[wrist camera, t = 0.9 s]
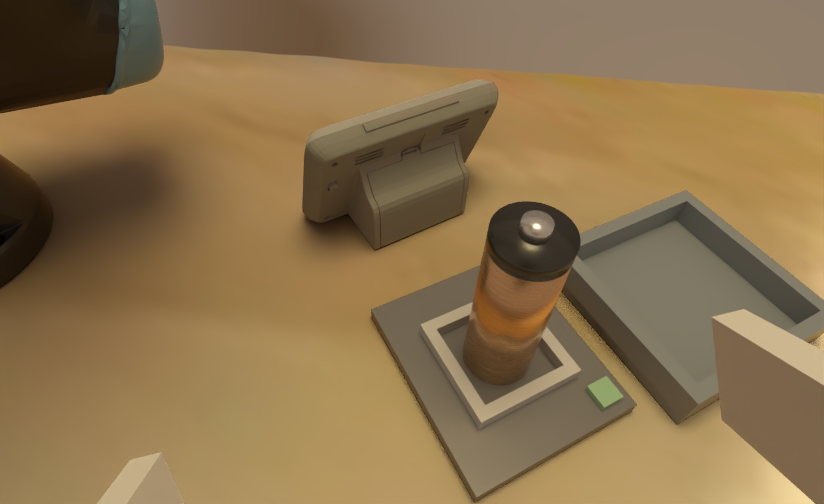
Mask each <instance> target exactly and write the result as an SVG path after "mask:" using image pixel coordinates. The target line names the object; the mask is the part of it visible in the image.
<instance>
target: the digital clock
mask: <svg viewBox="0 0 824 504" xmlns="http://www.w3.org/2000/svg"><path fill="white" fill-rule="evenodd" d="M497 101H498V89H497V87H496V85H495V83H493V82H489V81H485V80H480V79H477V80H473V81H469V82H466V83H462V84H459V85H456V86H453V87H449V88H446V89H443V90H440V91H437V92H433V93H430V94H427V95H424V96H421V97H418V98H414V99H411V100H408V101H405V102H402V103H398V104H395V105H392V106H389V107H386V108H383V109H379V110H376V111H373V112H370V113H367V114H364V115H360V116H357V117H354V118H351V119H348V120H345V121H341V122H338V123H335V124H332V125H329V126H326V127H323V128H321V129H318V130H316V131H314V132H312V133H311V134H310V136H309V138H308V141H307V144H306V148H305V154H304V176H303V204H302V209H303V212H304V214H305V216H306V217H307V218H308V219H310V220H312V221H314V222H318V223H324V222H327V221H330V220H333V219H335V218H338V217H340V216H343V215H346V214H349V216H350V217H351V218H352V220H353V221H354V223H355V224H356V225H357V227H358V228H359V229H360V231H361V232H362V234H363V235H364V236H365V238H366V239H367V240H368V242H369V243H370V245H371V246H372V247H373V248H374V249H375V250H376V249H379V248H381V247H383V246H386V245H388V244H390V243H393V242H395V241H397V240H400V239H402V238H404V237H407V236H409V235H412V234H414V233H416V232H419V231H421V230H423V229H426V228H428V227H430V226H433V225H435V224H437V223H440V222H442V221H444V220H447V219H449V218H452V217H454V216H456V215H459V214H461V213H463V212H464V209H465V203H466V196H467V190H468V183H469V174H468V170H467V168H466V166H465V164H464V163H465V162H466V160H467V158H468V156H469V155H470V153H471V151H472V149H473V147H474V146H475V144H476V142H477V140H478V139H479V137H480V135H481V133H482V131H483V130H484V128H485V126H486V124H487V122H488V121H489V119H490V117H491V115H492V113H493V112H494V110H495V108H496V105H497Z"/></svg>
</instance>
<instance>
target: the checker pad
mask: <svg viewBox="0 0 824 504" xmlns="http://www.w3.org/2000/svg"><path fill="white" fill-rule="evenodd" d="M480 266H481V265H480ZM480 266H477V267H475V268H472V269H470V270H468V271H465V272H463V273H460V274H458V275H455V276H453V277H450V278H448V279H445V280H443V281H440V282H438V283H436V284H433V285H431V286H428V287H426V288H423V289H421V290H418V291H416V292H413V293H411V294H408V295H406V296H403V297H401V298H399V299H396V300H394V301H391V302H389V303H386V304H384V305H381V306H379V307H376V308H374V309H371V315H372V319H373V321H374V323H375V324H376V326H377V328H378V330H379V332H380V333H381V335H382V337H383V339H384V341H385V342H386V344H387V346H388V348H389V350H390V351H391V353H392V355H393V357H394V359H395V360H396V362H397V364H398V366H399V368H400V369H401V371H402V373H403V375H404V377H405V378H406V380H407V382H408V384H409V386H410V387H411V389H412V391H413V393H414V395H415V396H416V398H417V400H418V402H419V404H420V405H421V407H422V409H423V411H424V413H425V414H426V416H427V418H428V420H429V422H430V423H431V425H432V427H433V429H434V431H435V432H436V434H437V436H438V438H439V440H440V441H441V443H442V445H443V447H444V449H445V450H446V452H447V454H448V456H449V458H450V459H451V461H452V463H453V465H454V467H455V468H456V470H457V472H458V474H459V476H460V477H461V479H462V481H463V483H464V485H465V486H466V488H467V490H468V492H469V494H470V495H471V497H472V499H473V501H474V502H476V501H478V500H479V499H481V498H483V497H485V496H486V495H488V494H490V493H491V492H493V491H495V490H497V489H498V488H500V487H502V486H503V485H505V484H507V483H509V482H510V481H512V480H514V479H516V478H517V477H519V476H521V475H522V474H524V473H526V472H528V471H529V470H531V469H533V468H535V467H536V466H538V465H540V464H541V463H543V462H545V461H547V460H548V459H550V458H552V457H553V456H555V455H557V454H559V453H560V452H562V451H564V450H566V449H567V448H569V447H571V446H572V445H574V444H576V443H578V442H579V441H581V440H583V439H584V438H586V437H588V436H590V435H591V434H593V433H595V432H597V431H598V430H600V429H602V428H603V427H605V426H607V425H609V424H610V423H612V422H614V421H615V420H617V419H619V418H621V417H622V416H624V415H626V414H628V413H629V412H631V411H632V410H633V409H634V408H635V407H636V405H637V404H636V403H635V402H634V400H633V399H632V398H631V397H630V396H629V394H628V393H627V392H626V391H625V390H624V388H623V387H622V386H621V385H620V384H619V382H618V381H617V380H616V379H615V378H614V376H613V375H612V374H611V373H610V372H609V370H608V369H607V368H606V367H605V366H604V364H603V363H602V362H601V361H600V360H599V358H598V357H597V356H596V355H595V354H594V353H593V351H592V350H591V349H590V348H589V347H588V345H587V344H586V343H585V342H584V341H583V339H582V338H581V337H580V336H579V335H578V333H577V332H576V331H575V330H574V329H573V327H572V326H571V325H570V324H569V323H568V321H567V320H566V319H565V318H564V317H563V315H562V314H561V313H560V312H559V311H558V309H557V308H556V307H554V310H553V312H552V314H551V317H550V319H549V321H548V324H547V326H546V328H545V331H544V333H543V335H542V338H541V340H540V342H539V345H538V347H537V349H536V352H535V354H534V356H533V359H532V361H531V363H530V366H529V368H528V370H527V372H526V374H525V375H524V376H523V377H522V378H521V379H520V380H518V381H517V382H515V383H512V384H509V385H492V384H489V383H486V382H484V381H482V380H480V379H478V378H477V377H476V376H474V375H473V374H472V373H471V372H470V370H469V369H468V367H467V366H466V364H465V361H464V357H463V347H464V342H465V337H466V332H467V328H468V323H469V318H470V313H471V309H472V304H473V299H474V294H475V290H476V285H477V280H478V276H479V271H480Z"/></svg>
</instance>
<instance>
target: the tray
mask: <svg viewBox="0 0 824 504" xmlns="http://www.w3.org/2000/svg"><path fill="white" fill-rule="evenodd" d="M580 239H581V244H580V249H579V251H578V253H577V256H576V258H575V260H574V263H573V265H572V267H571V270H570V272H569V274H568V277H567V279H566V282H565V284H564V286H563V289H562V292H563V293H564V295H565V296H566V297H567V298H568V299H569V300H570V301H571V303H572V304H573V305H574V306H575V307H576V308H577V310H578V311H579V312H580V313H581V314H582V315H583V316H584V318H585V319H586V320H587V321H588V322H589V323H590V325H591V326H592V327H593V328H594V329H595V330H596V331H597V333H598V334H599V335H600V336H601V337H602V338H603V340H604V341H605V342H606V343H607V344H608V345H609V346H610V348H611V349H612V350H613V351H614V352H615V353H616V355H617V356H618V357H619V358H620V359H621V360H622V361H623V363H624V364H625V365H626V366H627V367H628V368H629V370H630V371H631V372H632V373H633V374H634V375H635V377H636V378H637V379H638V380H639V381H640V382H641V383H642V385H643V386H644V387H645V388H646V389H647V390H648V392H649V393H650V394H651V395H652V396H653V397H654V398H655V400H656V401H657V402H658V403H659V404H660V405H661V407H662V408H663V409H664V410H665V411H666V412H667V413H668V415H669V416H670V417H671V418H672V419H673V420H674V422H675V423H676V424H679V423H680V422H682V421H684V420H685V419H687V418H688V417H690V416H692V415H693V414H695V413H697V412H698V411H700V410H701V409H703V408H705V407H706V406H708V405H710V404H711V403H713V402H714V401H716V400H718V399H719V388H718V378H717V368H716V358H715V348H714V338H713V328H712V318H711V317H713V316H717V315H722V314H726V313H730V312H734V311H738V310H742V309H745V310H747V311H749V312H751V313H753V314H754V315H756V316H758V317H760V318H762V319H764V320H766V321H768V322H770V323H771V324H773V325H775V326H777V327H779V328H781V329H783V330H785V331H787V332H788V333H790V334H792V335H794V336H796V337H798V338H800V339H802V340H804V341H805V342H807V343H810V342H812V341H814V340H815V339H817V338H818V337H819V336H820V335H821V334H823V333H824V300H823V299H822V298H820V297H819V296H818V295H817V294H815V293H814V292H813V291H812V290H810V289H809V288H808V287H807V286H805V285H804V284H803V283H802V282H800V281H799V280H798V279H797V278H795V277H794V276H793V275H792V274H790V273H789V272H788V271H787V270H785V269H784V268H783V267H782V266H780V265H779V264H778V263H777V262H775V261H774V260H773V259H772V258H770V257H769V256H768V255H767V254H765V253H764V252H763V251H762V250H760V249H759V248H758V247H757V246H755V245H754V244H753V243H752V242H750V241H749V240H748V239H747V238H746V237H744V236H743V235H742V234H741V233H739V232H738V231H737V230H736V229H734V228H733V227H732V226H731V225H729V224H728V223H727V222H726V221H724V220H723V219H722V218H721V217H719V216H718V215H717V214H716V213H714V212H713V211H712V210H711V209H709V208H708V207H707V206H706V205H704V204H703V203H702V202H701V201H699V200H698V199H697V198H696V197H694V196H693V195H692V194H691V193H689V192H688V191H687V190H685V191H682V192H680V193H677V194H675V195H673V196H670V197H668V198H665V199H663V200H660V201H658V202H656V203H653V204H651V205H648V206H646V207H643V208H641V209H639V210H636V211H634V212H631V213H629V214H627V215H624V216H622V217H619V218H617V219H614V220H612V221H610V222H607V223H605V224H602V225H600V226H597V227H595V228H593V229H590V230H588V231H585V232H583V233H581V234H580Z"/></svg>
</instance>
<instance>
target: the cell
mask: <svg viewBox="0 0 824 504" xmlns="http://www.w3.org/2000/svg"><path fill="white" fill-rule="evenodd" d="M580 244H581V239H580V234H579V231H578V229H577V227H576V226H575V224H574V223H573V222H572V220H571V219H570V218H569V217H568V216H566V215H565V214H564V213H562V212H561V211H559V210H557V209H555V208H553V207H551V206H548V205H546V204H542V203H537V202H516V203H512V204H509V205H506V206H504V207H502V208H501V209H499V210H498V211H497V212H496V213H495V214H494V215H493V217H492V218H491V221H490V224H489V228H488V233H487V238H486V242H485V247H484V252H483V257H482V261H481V266H480V271H479V276H478V280H477V285H476V290H475V294H474V299H473V304H472V309H471V313H470V318H469V323H468V328H467V332H466V337H465V342H464V347H463V357H464V361H465V364H466V366H467V367H468V369H469V370H470V372H471V373H472V374H473V375H474V376H476V377H477V378H478V379H480V380H482V381H484V382H486V383H489V384H492V385H509V384H512V383H515V382H517V381H518V380H520V379H521V378H522V377H523V376H524V375H525V374H526V372H527V370H528V368H529V366H530V363H531V361H532V359H533V356H534V354H535V352H536V349H537V347H538V345H539V342H540V340H541V338H542V335H543V333H544V331H545V328H546V326H547V324H548V321H549V319H550V317H551V314H552V312H553V310H554V307H555V305H556V303H557V300H558V298H559V296H560V293H561V291H562V289H563V286H564V284H565V282H566V279H567V277H568V274H569V272H570V270H571V267H572V265H573V263H574V260H575V258H576V256H577V253H578V251H579V249H580Z"/></svg>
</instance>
